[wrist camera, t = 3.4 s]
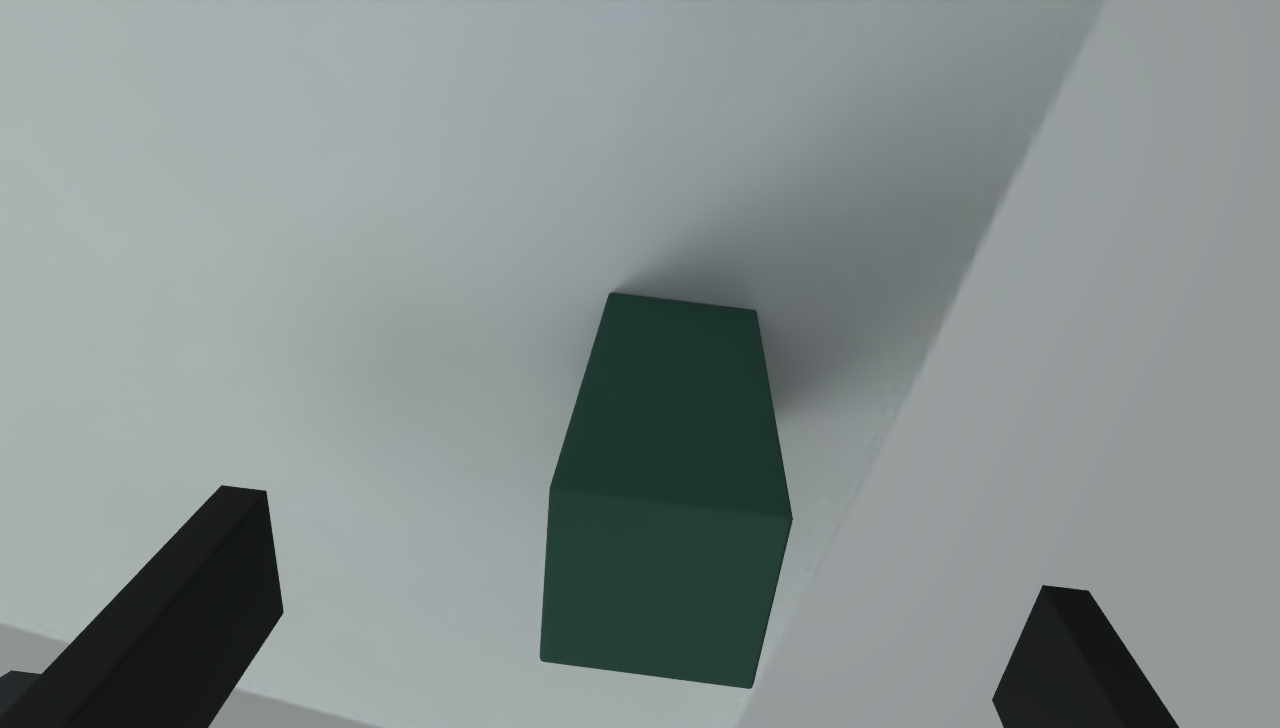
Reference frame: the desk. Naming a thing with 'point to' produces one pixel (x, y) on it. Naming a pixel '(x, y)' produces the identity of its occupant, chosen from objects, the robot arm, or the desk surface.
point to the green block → (667, 499)
